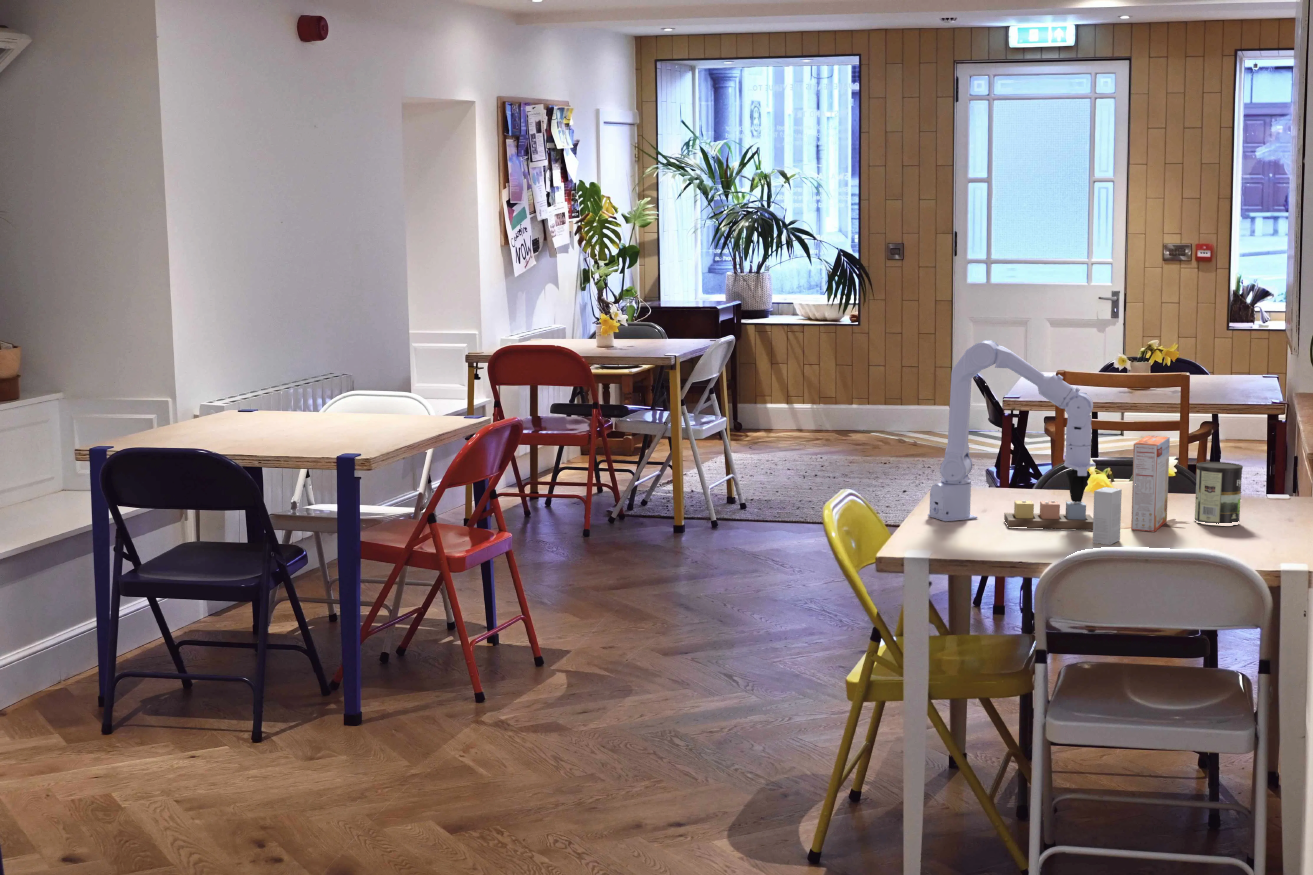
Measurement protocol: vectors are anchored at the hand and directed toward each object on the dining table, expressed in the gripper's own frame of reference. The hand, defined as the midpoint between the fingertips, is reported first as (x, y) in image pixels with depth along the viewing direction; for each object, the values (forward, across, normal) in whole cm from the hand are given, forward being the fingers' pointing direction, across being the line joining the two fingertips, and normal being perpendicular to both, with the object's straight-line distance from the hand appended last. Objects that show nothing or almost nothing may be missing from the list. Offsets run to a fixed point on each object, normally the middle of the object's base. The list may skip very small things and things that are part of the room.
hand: (1076, 501), depth 330 cm
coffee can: (+6, +8, -34) cm, 36 cm away
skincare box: (+6, -17, -4) cm, 19 cm away
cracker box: (+6, +2, -17) cm, 18 cm away
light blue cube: (+4, 0, 0) cm, 4 cm away
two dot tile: (+4, 0, +6) cm, 7 cm away
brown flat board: (+6, 0, +6) cm, 9 cm away
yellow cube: (+4, 0, +12) cm, 13 cm away
